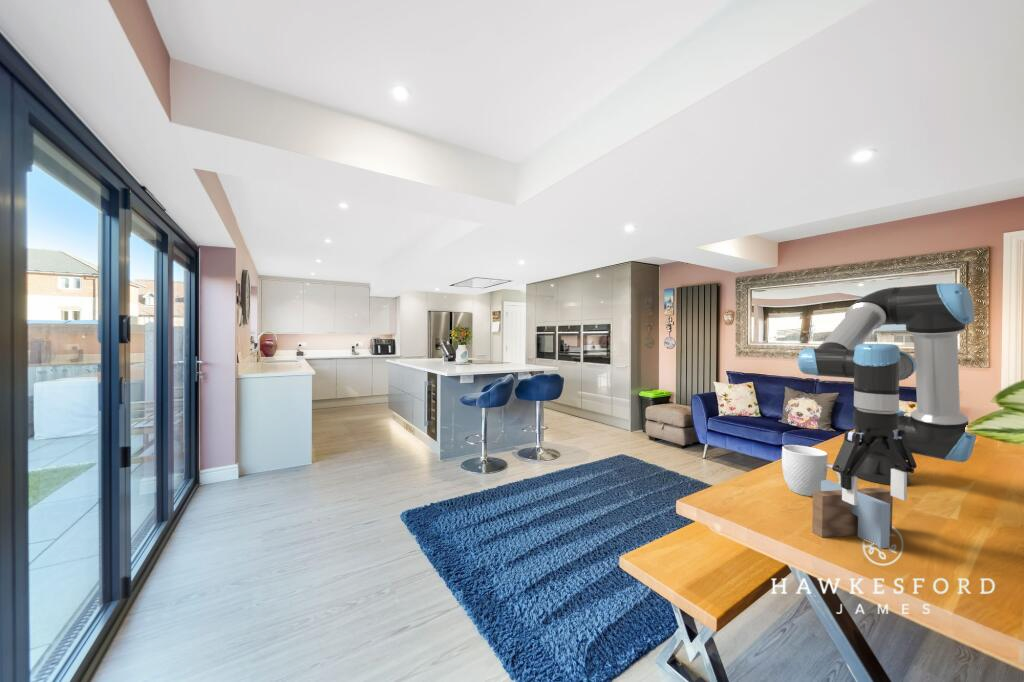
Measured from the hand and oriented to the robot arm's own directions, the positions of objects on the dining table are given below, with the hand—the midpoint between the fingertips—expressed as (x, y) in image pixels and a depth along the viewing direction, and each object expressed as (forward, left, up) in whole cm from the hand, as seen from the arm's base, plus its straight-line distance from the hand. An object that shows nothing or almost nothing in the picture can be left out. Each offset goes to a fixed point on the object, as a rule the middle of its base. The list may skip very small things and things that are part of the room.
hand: (874, 500), depth 86 cm
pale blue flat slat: (0, -4, -10) cm, 11 cm away
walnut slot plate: (0, -4, -10) cm, 11 cm away
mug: (-10, -25, -10) cm, 29 cm away
